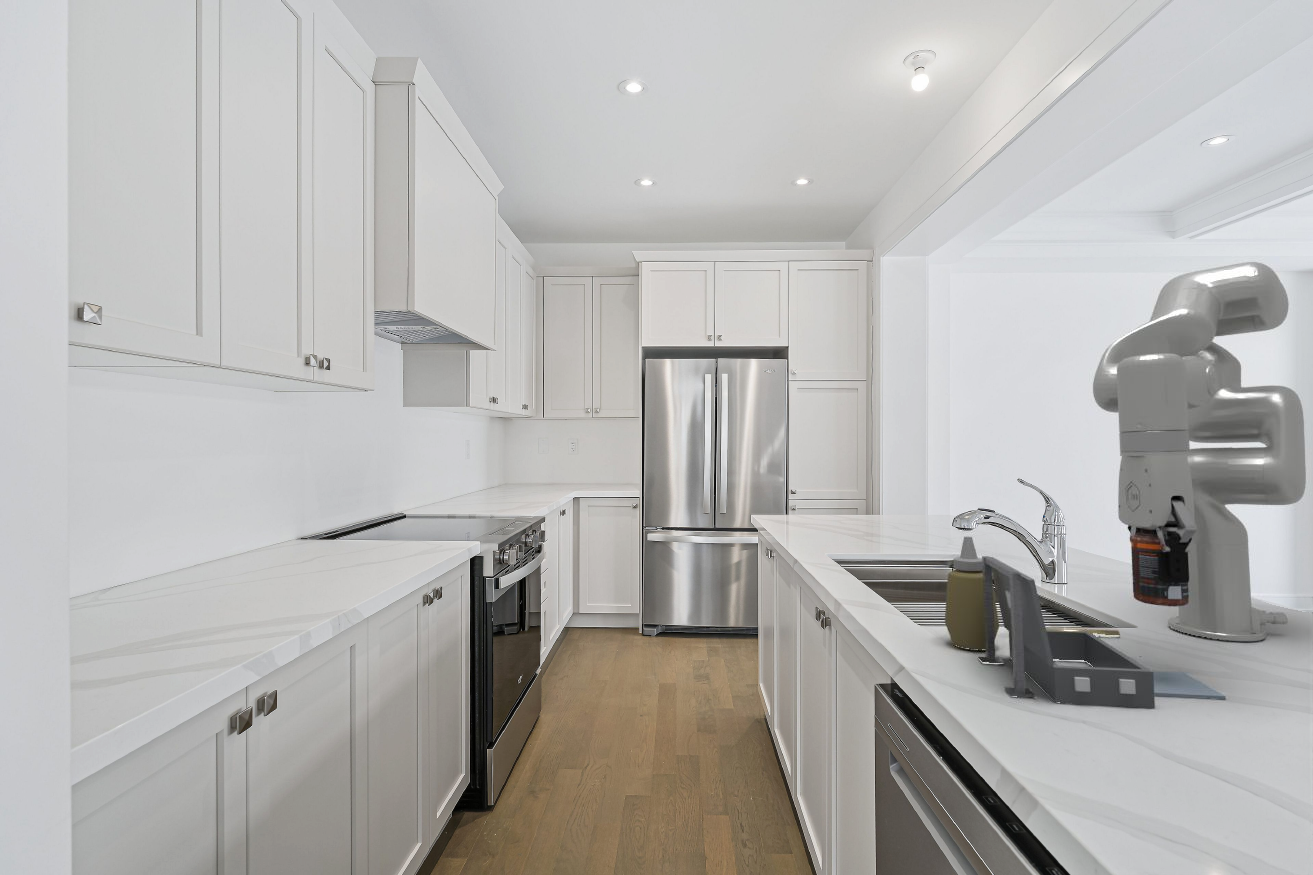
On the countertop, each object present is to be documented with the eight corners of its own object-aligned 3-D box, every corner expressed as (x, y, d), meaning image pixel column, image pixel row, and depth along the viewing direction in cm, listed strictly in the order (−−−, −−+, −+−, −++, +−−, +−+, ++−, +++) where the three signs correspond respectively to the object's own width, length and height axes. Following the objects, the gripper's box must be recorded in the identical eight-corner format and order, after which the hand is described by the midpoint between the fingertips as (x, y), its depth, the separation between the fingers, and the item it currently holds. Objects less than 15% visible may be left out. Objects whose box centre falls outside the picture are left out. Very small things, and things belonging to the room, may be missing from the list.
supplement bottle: (1193, 609, 82) (1189, 522, 82) (1136, 604, 85) (1132, 520, 85) (1185, 600, 87) (1181, 517, 87) (1131, 595, 90) (1127, 516, 90)
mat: (1183, 674, 89) (1183, 672, 89) (1225, 699, 80) (1225, 696, 80) (1111, 671, 91) (1111, 668, 91) (1144, 695, 82) (1144, 692, 82)
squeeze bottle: (988, 657, 99) (983, 541, 99) (936, 646, 105) (932, 537, 105) (1008, 645, 104) (1003, 536, 104) (958, 636, 110) (953, 532, 110)
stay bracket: (999, 659, 97) (994, 555, 98) (1035, 698, 82) (1030, 574, 83) (977, 659, 98) (973, 555, 98) (1010, 696, 83) (1005, 574, 83)
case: (1089, 661, 96) (1088, 631, 96) (1156, 709, 78) (1155, 672, 78) (1009, 657, 98) (1008, 628, 98) (1057, 704, 80) (1055, 668, 80)
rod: (1115, 631, 108) (1118, 628, 107) (1117, 639, 107) (1120, 636, 106) (1037, 629, 111) (1039, 626, 110) (1039, 637, 110) (1041, 634, 109)
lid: (992, 556, 99) (986, 557, 99) (1034, 579, 81) (1026, 580, 81) (1008, 626, 98) (1002, 627, 98) (1054, 664, 81) (1046, 665, 81)
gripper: (1094, 446, 96) (1099, 565, 95) (1156, 444, 79) (1163, 589, 78) (1150, 445, 94) (1156, 566, 94) (1227, 443, 77) (1234, 591, 77)
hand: (1159, 575), depth 86 cm, fingers closed on supplement bottle, 6 cm apart
